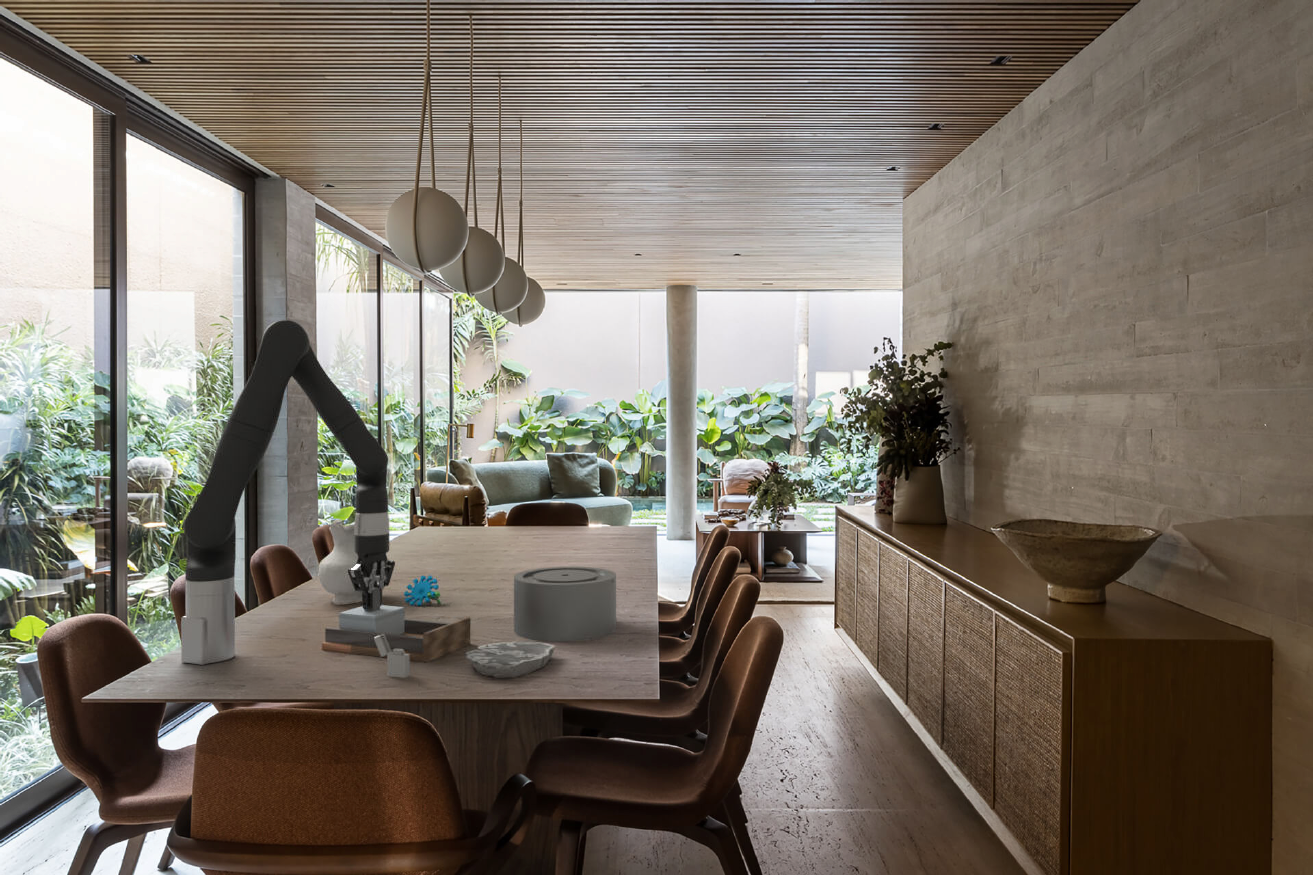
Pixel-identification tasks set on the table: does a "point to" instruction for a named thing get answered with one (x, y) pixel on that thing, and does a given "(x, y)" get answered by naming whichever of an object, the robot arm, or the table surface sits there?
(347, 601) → the white scalloped vase
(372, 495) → the robot arm
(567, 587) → the container
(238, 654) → the table surface
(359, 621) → the block with peg
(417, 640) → the bay
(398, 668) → the lighter
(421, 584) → the blue spiky round piece
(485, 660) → the grey flat stone
